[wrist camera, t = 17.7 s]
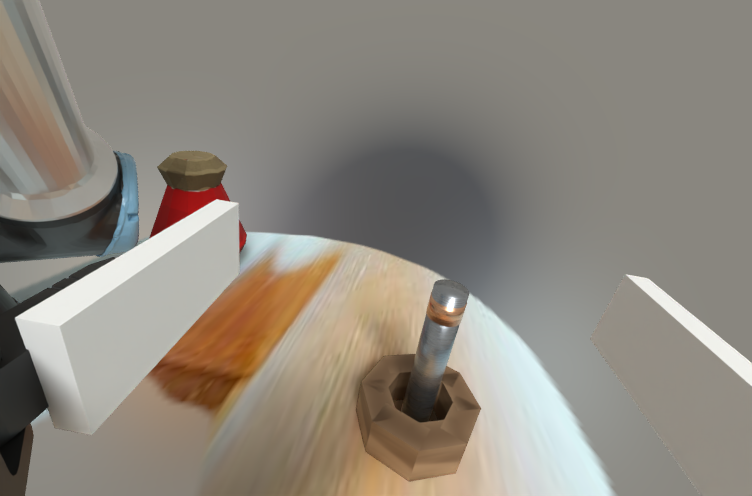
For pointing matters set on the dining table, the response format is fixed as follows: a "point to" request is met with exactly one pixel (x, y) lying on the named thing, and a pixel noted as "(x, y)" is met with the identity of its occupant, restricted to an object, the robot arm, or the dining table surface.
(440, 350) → the copper-banded metal rod
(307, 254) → the dining table surface
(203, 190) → the bottle
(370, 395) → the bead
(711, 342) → the robot arm
